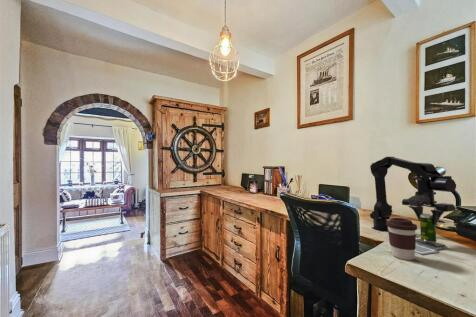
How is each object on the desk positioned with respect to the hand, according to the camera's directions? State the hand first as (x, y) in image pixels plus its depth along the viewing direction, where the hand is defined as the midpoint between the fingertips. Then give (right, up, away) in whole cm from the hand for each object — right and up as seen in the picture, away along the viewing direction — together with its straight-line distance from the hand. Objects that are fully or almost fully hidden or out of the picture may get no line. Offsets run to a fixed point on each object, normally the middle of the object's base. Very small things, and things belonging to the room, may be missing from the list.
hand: (427, 223), depth 95 cm
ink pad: (0, -10, -1) cm, 10 cm away
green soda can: (0, -8, 0) cm, 8 cm away
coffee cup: (-22, -10, -12) cm, 27 cm away
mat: (-9, -10, -5) cm, 14 cm away
